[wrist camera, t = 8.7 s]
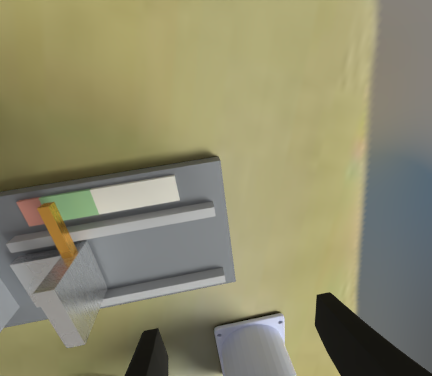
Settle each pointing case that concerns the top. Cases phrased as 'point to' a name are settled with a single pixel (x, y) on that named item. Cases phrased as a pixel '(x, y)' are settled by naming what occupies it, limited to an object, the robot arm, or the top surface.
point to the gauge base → (125, 232)
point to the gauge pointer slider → (63, 281)
